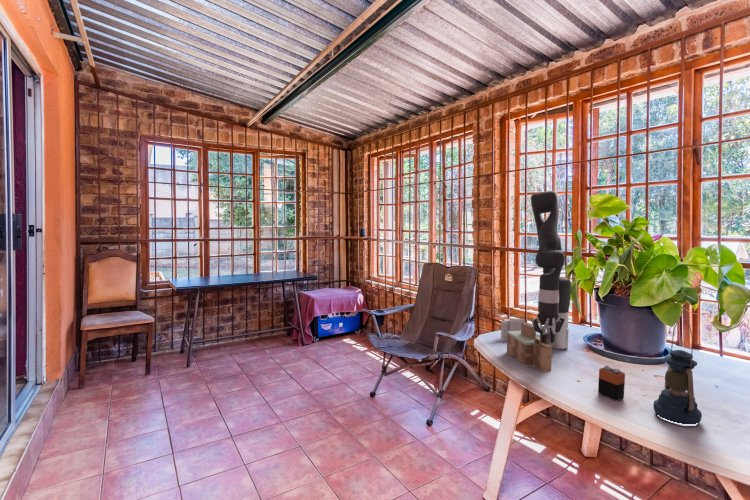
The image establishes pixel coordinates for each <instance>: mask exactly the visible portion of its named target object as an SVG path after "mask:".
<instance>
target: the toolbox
mask: <svg viewBox="0 0 750 500" xmlns="http://www.w3.org/2000/svg"><path fill="white" fill-rule="evenodd" d="M550 345H551V344H550ZM552 352H553V348H552V346H550V347H545V346H543V345H541V344H540V343H538V339H537V338H535V339H534V345H525V344H524V343H522V342H520V341H519V340H517V339H516V338H514V337H512V336H511V335H509V334H507V341H506V354H508V355H509V356H511V357H512V358H514V359H515V360H516V361H518V362H519V363H520V364H522V365H523V366H524V367H532V366H533V367H534V368H536V369H537V370H538V371H540V372H549V371H552V354H553V353H552Z"/></svg>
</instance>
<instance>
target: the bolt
mask: <svg viewBox="0 0 750 500" xmlns="http://www.w3.org/2000/svg"><path fill="white" fill-rule="evenodd" d="M545 335H546V343H545V344H543V343H541V341H540V338H537V339H538V343H540V344H541V345H543V346H545V347H550V344H551V333H545Z"/></svg>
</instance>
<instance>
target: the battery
mask: <svg viewBox="0 0 750 500" xmlns="http://www.w3.org/2000/svg"><path fill="white" fill-rule="evenodd" d="M625 383H626V373H625V372H623V371H621V369H619V368H612V367H610V366H608V365H605V366H604V367H602V368H601V367H600V368H599V369H598V385H597V386H598V388H597V394H599V395H601V394H602V395H601V396H604V397H606V396H607V397H606V398H608V397H609V399H611V398H612V399H611V400H613V399H614V400H613V401H615V400H617V401H619V399H620V400H623V399H624V397H625ZM622 398H623V399H622Z"/></svg>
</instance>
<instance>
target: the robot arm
mask: <svg viewBox="0 0 750 500" xmlns="http://www.w3.org/2000/svg"><path fill="white" fill-rule="evenodd" d="M530 203H531V204H530V205H531V210H532V213H533V217H534V218H533V219H534V222H535V226H536V232H537V241H538V250H537V252H536V255H535V259H534V260H535V264H536V266H537V267H539V268H541V269H542V274H540V275H539V288H538V295H537V296H538V297H537V299H538V302H537V312H538V313H537V315H536V317H534V318H533V317H532V318H531V319H530V321H531V325H532V326H534V329H535V331H536V333H537V334H539V335H540V341H541V343H543V344H545V343H546V335H545V333H551V345H550V346H552V349H555V350H568V348H569V330H570V329H569V313H570V304H571V295H572V282H571V280H570V279H569V278H567V277H561V273H562V269H563V267H564V265H565V263H566V255H565V254H564V252H563V249H562V243H561V242H562V241H561V237H560V236H559V233H558V231H559V230H558V225H559V215H560V214H559V213H560V200H559V194H558V193H557V191H555V190H549V191H548V190H547V191H542V192H536V193H532V194H531V197H530ZM548 213H549V215H548V217H547V218H546V220H545V218H544V216H543V214H548Z"/></svg>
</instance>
